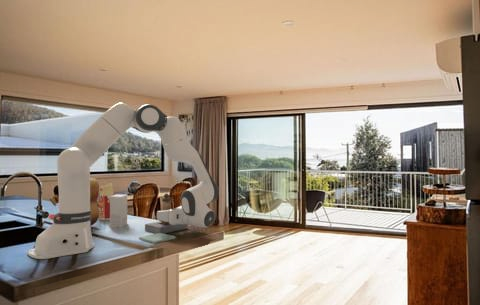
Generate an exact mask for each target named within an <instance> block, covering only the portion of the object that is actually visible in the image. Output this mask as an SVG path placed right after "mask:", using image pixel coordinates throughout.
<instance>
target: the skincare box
mask: <svg viewBox="0 0 480 305" xmlns="http://www.w3.org/2000/svg"><path fill="white" fill-rule="evenodd" d="M127 224H128V193H127V194H124V193H123V194H122V193H121V194H120V193H119V194H118V193H117V194H114V195H113V196H110V220H109V227H110V228H122V227H124V226H127Z"/></svg>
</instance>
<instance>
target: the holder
mask: <svg viewBox="0 0 480 305" xmlns="http://www.w3.org/2000/svg"><path fill="white" fill-rule="evenodd" d="M187 229H188V225H185V224H184V225H183V224H168V225H162V224H161V220H159V221H155V222H151V223H150V222H149V223H145V224H144V231H147V232H150V233H153V234H157V233H163V234H168V233H173V232H176V231H182V230H187Z"/></svg>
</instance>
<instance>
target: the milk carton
mask: <svg viewBox="0 0 480 305" xmlns="http://www.w3.org/2000/svg"><path fill="white" fill-rule="evenodd" d="M113 195H115V191H114V188H113V183H112V182H111V183H108V184H106V185H101V186H100V185H99V195H98V197H99V198H98V209H99V218H98V220H101V221H107V220H109V221H110V196H113Z"/></svg>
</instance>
